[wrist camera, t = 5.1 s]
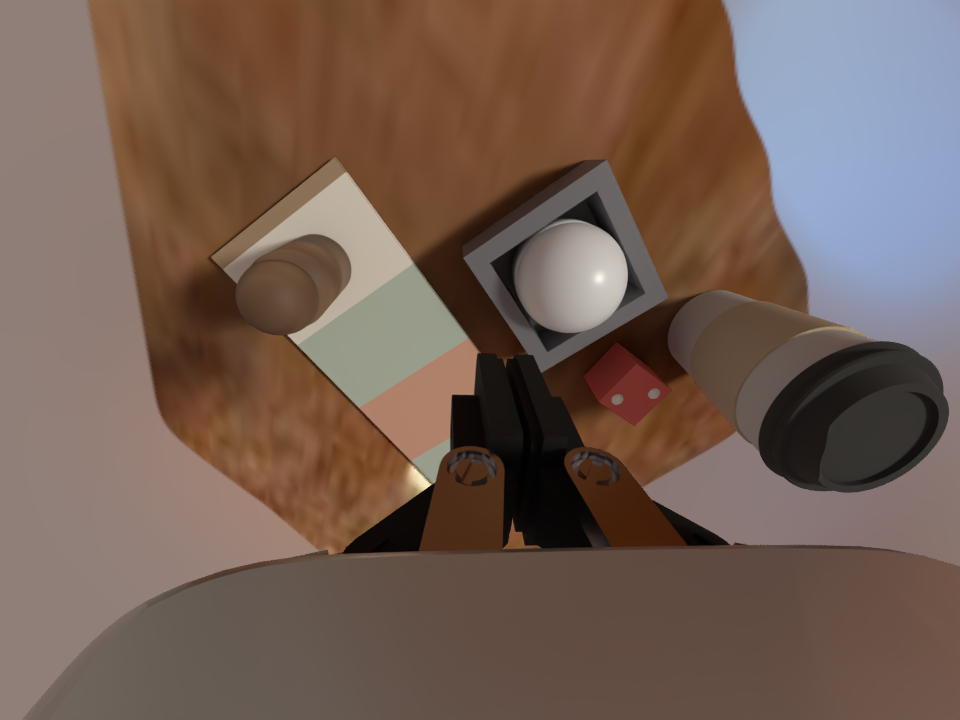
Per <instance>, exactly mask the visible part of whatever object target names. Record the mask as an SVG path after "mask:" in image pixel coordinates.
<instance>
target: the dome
mask: <svg viewBox="0 0 960 720" xmlns="http://www.w3.org/2000/svg"><path fill="white" fill-rule="evenodd" d="M511 279H512V284H513V287H514V289H515V292H516V294H517V296H518V297H519V299H520V301H521V303H522V305H523V307H524V309H525V310H526V311H527V313H528V314H529V315H530V316H531V317H532V318H533V319H534V320H535V321H536V322H537V323H539V324H540V325H542V326H544V327H546V328H548V329H550V330H553V331H557V332H562V333H577V332H582V331H586V330H589V329H592V328H594V327H596V326H598V325H600V324H601V323H603V322H604V321H605V320H607V319H608V318H609V317H610V316H611V315H612V314H613V313H614V312H615V310H616V309H617V308H618V306H619V304H620V303H621V301H622V299H623V297H624V294H625V291H626V287H627V281H628V270H627V264H626V259H625V256H624V254H623V252H622V250H621V248H620V246H619V245H618V243H617V242H616V241H615V240H614V239H613V238H612V237H611V236H610V235H609V234H608V233H606V232H605V231H603V230H602V229H600V228H598V227H596V226H594V225H592V224H589V223H587V222H585V221H582V220H580V219H576V218H571V217H558V218H556V219H555V220H553V221H552V222H550V223H549V224H547V225H546V226H544V227H543V228H541V229H540V230H538V231H537V232H535V233H534V234H532V235H531V236H529V237H528V238H526V239H525V240H523V241H522V242H520V243H519V244H518V246H517V248H516V250H515V252H514V255H513V259H512V264H511Z"/></svg>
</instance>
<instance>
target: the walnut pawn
mask: <svg viewBox="0 0 960 720" xmlns="http://www.w3.org/2000/svg"><path fill="white" fill-rule="evenodd" d="M350 278H351V263H350V260H349V257H348V255H347V253H346V252H345V250H344V249H343V248H342V247H341V246H340V245H339V244H338V243H337V242H336V241H334V240H333V239H331V238H329V237H326V236H324V235H319V234H308V235H304V236H301V237H299V238H297V239H295V240H293V241H291V242H289V243H287V244H285V245H283V246H281V247H279V248H277V249H275V250H273V251H271V252H269V253H267V254H265V255H263V256H261V257H259V258H258V259H256V260H255V261H254V262H253V264H252V265H251V266H250V267H249V268H248V269H247V270H246V271H245V272H244V273H243V274H242V276H241V277H240V279H239V281H238V283H237V287H236V295H235V296H236V303H237V307H238V309H239V311H240V313H241V315H242V316H243V317H244V319H245V320H246V321H247V322H248V323H249V324H250V325H252V326H253V327H254V328H256V329H258V330H260V331H262V332H264V333H268V334H272V335H289V334H293V333H296V332H298V331H300V330H302V329H304V328H305V327H306V326H308V325H310V324H312V323H314V322H316V321H317V320H318V319H319V318H320V317H321V316H322V315H323V314H324V312H325V311H326V310H327V309H328V308H329V306H330V305H331V304H332V303H333V302H334V300H335V299H336V298H337V297H338V296H339V295H340V293H341V292H342V291H343V290H344V289H345V287H346V286H347V285H348V283H349V281H350Z"/></svg>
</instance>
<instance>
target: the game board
mask: <svg viewBox="0 0 960 720" xmlns="http://www.w3.org/2000/svg"><path fill="white" fill-rule="evenodd" d="M308 234H319V235H324V236H326V237H329V238H331V239H333V240H334V241H336V242H337V243H338V244H339V245H340V246H341V247H342V248H343V249H344V250H345V252H346V253H347V255H348V257H349V260H350V263H351V278H350V281H349V283H348V285H347V286H346V287H345V289H344V290H343V291H342V292H341V293H340V295H339V296H338V297H337V298H336V299H335V300H334V302H333V303H332V304H331V305H330V306H329V308H328V309H327V310H326V311H325V312H324V314H323V315H322V316H321V317H320V318H319V319H318V320H317V321H316V322H314V323H312V324H310V325H308V326H306V327H305V328H304V329H302V330H300V331H298V332H296V333H293V334H289V335H288V336H289V337H290V338H291V339H292V340H293V341H294V342H295V343H296V344H297V345H298V346H299V348H300V349H301V350H302V351H303V352H304V353H305V354H306V355H307V356H308V357H309V358H310V359H311V360H312V361H313V362H314V363H315V364H316V365H317V366H318V367H319V368H320V369H321V370H322V371H323V372H324V373H325V374H326V375H327V376H328V377H329V378H330V379H331V380H332V381H333V382H334V383H335V384H336V385H337V386H338V387H339V388H340V389H341V390H342V391H343V392H344V393H345V394H346V395H347V396H348V397H349V398H350V399H351V400H352V401H353V402H354V403H355V404H356V405H357V406H358V407H359V408H360V410H361V411H362V412H363V413H364V414H365V415H366V416H367V417H368V418H369V419H370V420H371V421H372V422H373V423H374V424H375V425H376V426H377V427H378V428H379V429H380V430H381V431H382V432H383V433H384V434H385V435H386V436H387V437H388V438H389V439H390V440H391V441H392V442H393V443H394V444H395V445H396V446H397V447H398V448H399V449H400V450H401V451H402V452H403V453H404V454H405V455H406V456H407V457H408V458H409V459H410V460H411V461H412V462H413V463H414V464H415V465H416V466H417V467H418V468H419V469H420V471H421V472H422V473H423V474H424V475H425V476H426V477H427V478H428V479H429V480H430V481H431V482H432V483H433V484H434V483H435V482H436V478H437V474H438V470H439V465H440V462H441V460H442V458H443V457H444V456H445V455H446V454H447V453H448V452H450V423H451V400H452V395H474V386H475V373H476V360H477V354H478V353H481V352H480V351H479V350H478V348H477V347H476V346H475V344H474V343H473V342H472V340H471V339H470V338H469V336H468V335H467V334H466V332H465V331H464V329H463V328H462V327H461V325H460V324H459V323H458V321H457V320H456V319H455V317H454V316H453V315H452V313H451V312H450V310H449V309H448V308H447V306H446V305H445V304H444V302H443V301H442V300H441V298H440V297H439V296H438V294H437V293H436V292H435V290H434V289H433V287H432V286H431V285H430V283H429V282H428V281H427V279H426V278H425V277H424V275H423V274H422V273H421V271H420V270H419V269H418V267H417V266H416V264H415V263H414V262H413V260H412V259H411V258H410V256H409V255H408V254H407V252H406V251H405V250H404V248H403V247H402V246H401V244H400V243H399V241H398V240H397V239H396V237H395V236H394V235H393V233H392V232H391V231H390V229H389V228H388V227H387V225H386V224H385V223H384V221H383V220H382V218H381V217H380V216H379V214H378V213H377V212H376V210H375V209H374V208H373V206H372V205H371V204H370V202H369V201H368V199H367V198H366V197H365V195H364V194H363V193H362V191H361V190H360V189H359V187H358V186H357V185H356V183H355V182H354V181H353V179H352V178H351V176H350V175H349V174H348V172H347V171H346V170H345V168H344V167H343V166H342V164H341V163H340V162H339V160H338V159H337V158H333V159H332V160H331V161H329V162H328V163H327V164H326V165H325V166H323V167H322V168H321V169H320V170H318V171H317V172H316V173H315V174H313V175H312V176H311V177H310V178H308V179H307V180H306V181H305V182H303V183H302V184H301V185H300V186H298V187H297V188H296V189H295V190H294V191H292V192H291V193H290V194H289V195H287V196H286V197H285V198H284V199H282V200H281V201H280V202H279V203H277V204H276V205H275V206H274V207H272V208H271V209H270V210H269V211H267V212H266V213H265V214H264V215H263V216H261V217H260V218H259V219H258V220H256V221H255V222H254V223H253V224H251V225H250V226H249V227H248V228H246V229H245V230H244V231H243V232H241V233H240V234H239V235H238V236H237V237H235V238H234V239H233V240H232V241H230V242H229V243H228V244H227V245H225V246H224V247H223V248H222V249H220V250H219V251H218V252H217V253H215V254H214V255H213V256H212V257H211V258H212V259H213V260H214V261H215V262H216V263H217V264H218V265H219V266H220V267H221V268H222V269H223V270H224V271H225V272H226V273H227V274H228V275H229V276H230V277H231V278H232V279H233V280H234V281H235V282H236V283H238V281H239V279H240V277H241V276H242V274H243V273H244V272H245V271H246V270H247V269H248V268H249V267H250V266H251V265H252V264H253V262H254V261H255V260H256V259H258V258H259V257H261V256H263V255H265V254H267V253H269V252H271V251H273V250H275V249H277V248H279V247H281V246H283V245H285V244H287V243H289V242H291V241H293V240H295V239H297V238H299V237H301V236H304V235H308Z"/></svg>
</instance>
